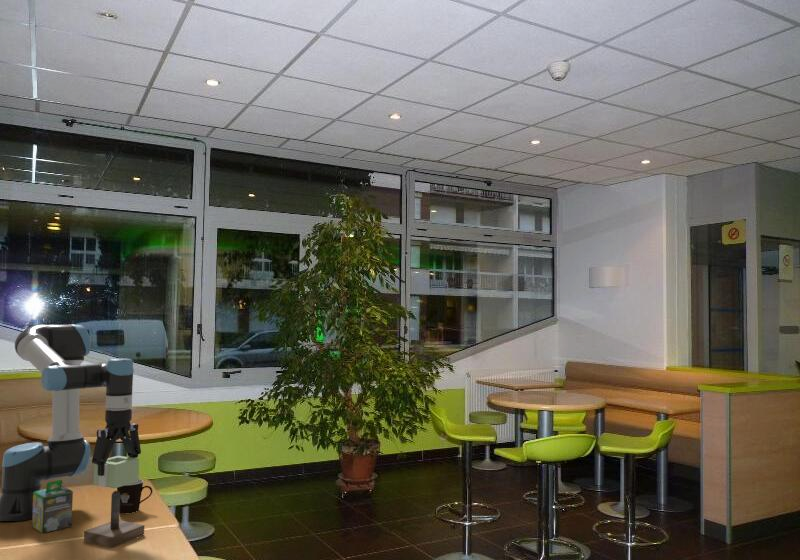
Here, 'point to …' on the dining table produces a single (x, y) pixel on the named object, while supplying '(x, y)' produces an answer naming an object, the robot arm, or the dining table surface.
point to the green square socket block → (119, 471)
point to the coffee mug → (131, 496)
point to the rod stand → (114, 528)
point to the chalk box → (52, 508)
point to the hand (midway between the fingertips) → (116, 482)
